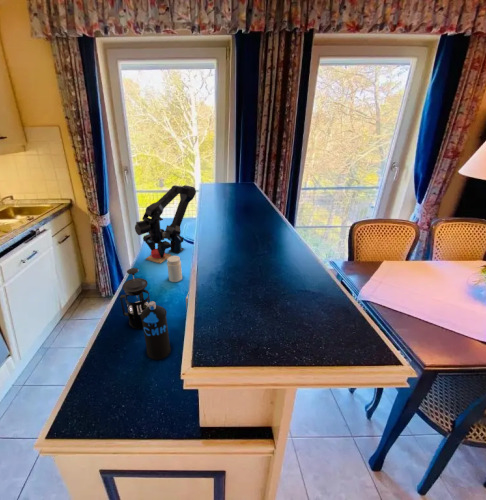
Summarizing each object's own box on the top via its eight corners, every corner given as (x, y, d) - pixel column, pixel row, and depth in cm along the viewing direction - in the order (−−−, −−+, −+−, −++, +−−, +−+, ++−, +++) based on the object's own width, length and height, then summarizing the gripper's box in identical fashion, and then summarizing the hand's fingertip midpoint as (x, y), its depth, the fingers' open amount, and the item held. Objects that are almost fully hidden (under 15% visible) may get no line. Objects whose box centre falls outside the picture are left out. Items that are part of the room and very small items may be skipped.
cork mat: (156, 252, 163) (156, 251, 163) (171, 255, 158) (170, 254, 158) (145, 259, 155) (145, 258, 155) (160, 263, 151) (160, 262, 150)
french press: (157, 313, 113) (150, 263, 103) (152, 329, 105) (144, 277, 95) (128, 313, 114) (119, 263, 104) (121, 329, 105) (110, 277, 95)
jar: (173, 273, 141) (171, 254, 136) (184, 276, 138) (183, 257, 133) (166, 280, 135) (163, 260, 131) (177, 283, 132) (175, 263, 128)
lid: (151, 259, 152) (151, 255, 151) (151, 253, 159) (150, 249, 158) (165, 257, 153) (165, 253, 152) (164, 251, 160) (163, 247, 159)
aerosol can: (147, 342, 99) (140, 296, 90) (171, 340, 99) (165, 294, 90) (145, 361, 91) (136, 312, 82) (170, 358, 92) (164, 310, 83)
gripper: (177, 229, 148) (179, 255, 155) (157, 221, 160) (160, 246, 167) (160, 236, 141) (163, 263, 148) (140, 226, 154) (144, 252, 160)
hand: (158, 255), depth 156 cm, fingers closed on lid, 7 cm apart
